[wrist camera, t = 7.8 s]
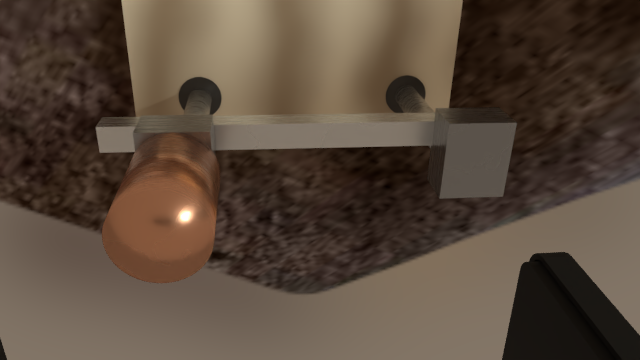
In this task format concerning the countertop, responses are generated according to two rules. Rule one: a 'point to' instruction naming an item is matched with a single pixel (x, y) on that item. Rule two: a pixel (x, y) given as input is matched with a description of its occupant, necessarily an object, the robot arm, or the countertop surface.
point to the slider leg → (167, 196)
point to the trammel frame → (373, 139)
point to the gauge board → (290, 54)
